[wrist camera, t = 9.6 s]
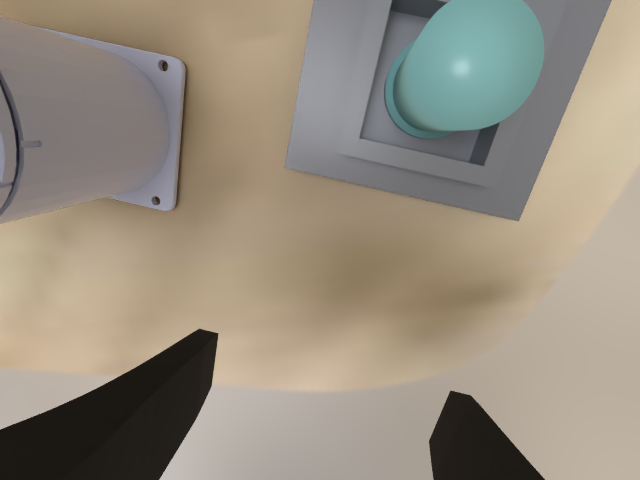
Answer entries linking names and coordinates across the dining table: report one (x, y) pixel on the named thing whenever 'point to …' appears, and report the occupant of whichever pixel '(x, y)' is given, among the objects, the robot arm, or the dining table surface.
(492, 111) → the teal rounded piece
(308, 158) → the housing
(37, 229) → the dining table surface
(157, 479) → the robot arm
